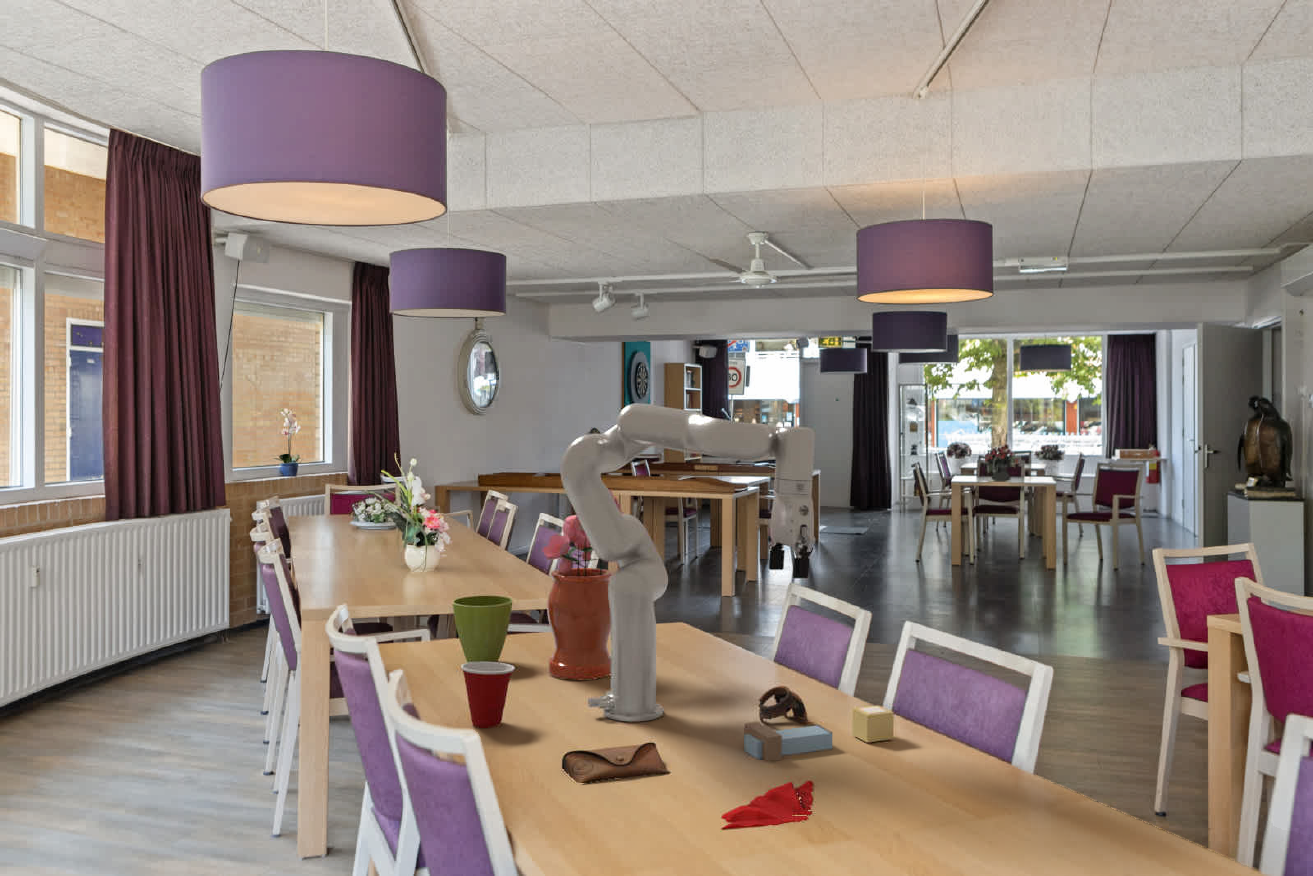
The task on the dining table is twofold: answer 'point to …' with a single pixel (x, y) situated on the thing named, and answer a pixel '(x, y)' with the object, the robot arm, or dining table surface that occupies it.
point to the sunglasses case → (613, 763)
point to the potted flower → (578, 608)
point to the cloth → (773, 807)
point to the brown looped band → (782, 704)
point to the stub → (873, 723)
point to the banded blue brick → (784, 741)
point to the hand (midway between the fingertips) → (787, 573)
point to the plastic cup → (486, 691)
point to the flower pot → (482, 626)
